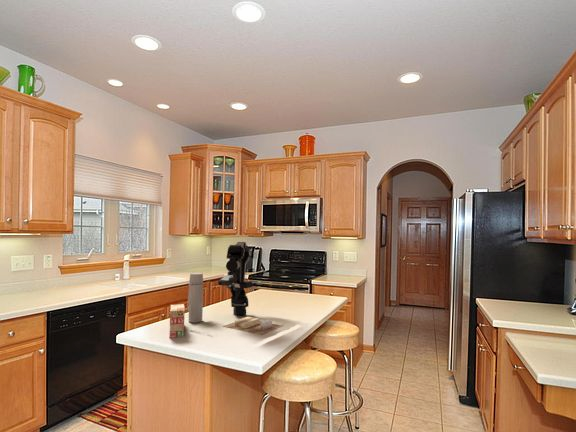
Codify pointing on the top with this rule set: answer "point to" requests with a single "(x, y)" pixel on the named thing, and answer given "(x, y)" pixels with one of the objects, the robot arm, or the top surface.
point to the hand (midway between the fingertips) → (235, 300)
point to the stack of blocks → (177, 321)
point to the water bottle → (195, 297)
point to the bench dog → (266, 325)
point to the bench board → (253, 328)
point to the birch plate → (246, 322)
